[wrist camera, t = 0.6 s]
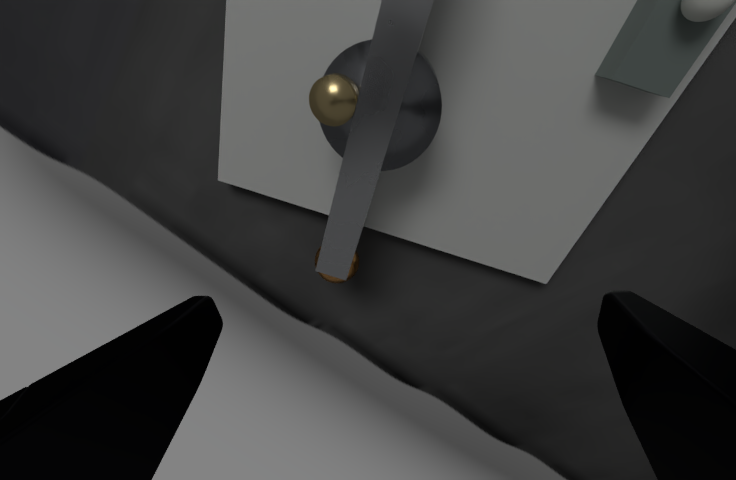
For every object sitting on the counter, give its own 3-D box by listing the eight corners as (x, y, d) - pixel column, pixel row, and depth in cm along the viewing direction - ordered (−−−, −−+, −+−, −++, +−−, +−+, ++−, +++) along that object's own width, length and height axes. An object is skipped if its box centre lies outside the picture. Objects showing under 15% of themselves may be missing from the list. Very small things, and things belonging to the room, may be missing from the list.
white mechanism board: (777, -71, 13) (897, -106, 10) (541, 274, 21) (561, 317, 18) (252, -249, 12) (190, -349, 9) (226, 174, 21) (190, 199, 18)
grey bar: (519, -111, 12) (552, -163, 9) (378, 270, 21) (370, 312, 18) (380, -158, 12) (364, -226, 9) (298, 245, 21) (276, 283, 18)
